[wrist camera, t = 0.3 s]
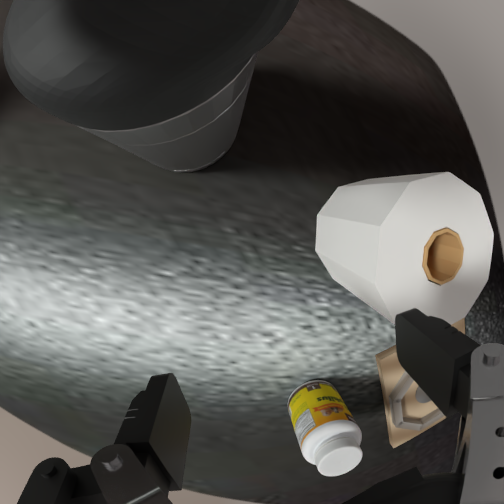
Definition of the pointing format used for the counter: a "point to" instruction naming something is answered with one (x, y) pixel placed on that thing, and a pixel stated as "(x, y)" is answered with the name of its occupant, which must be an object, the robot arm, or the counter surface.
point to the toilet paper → (408, 243)
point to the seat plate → (406, 398)
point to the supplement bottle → (325, 428)
